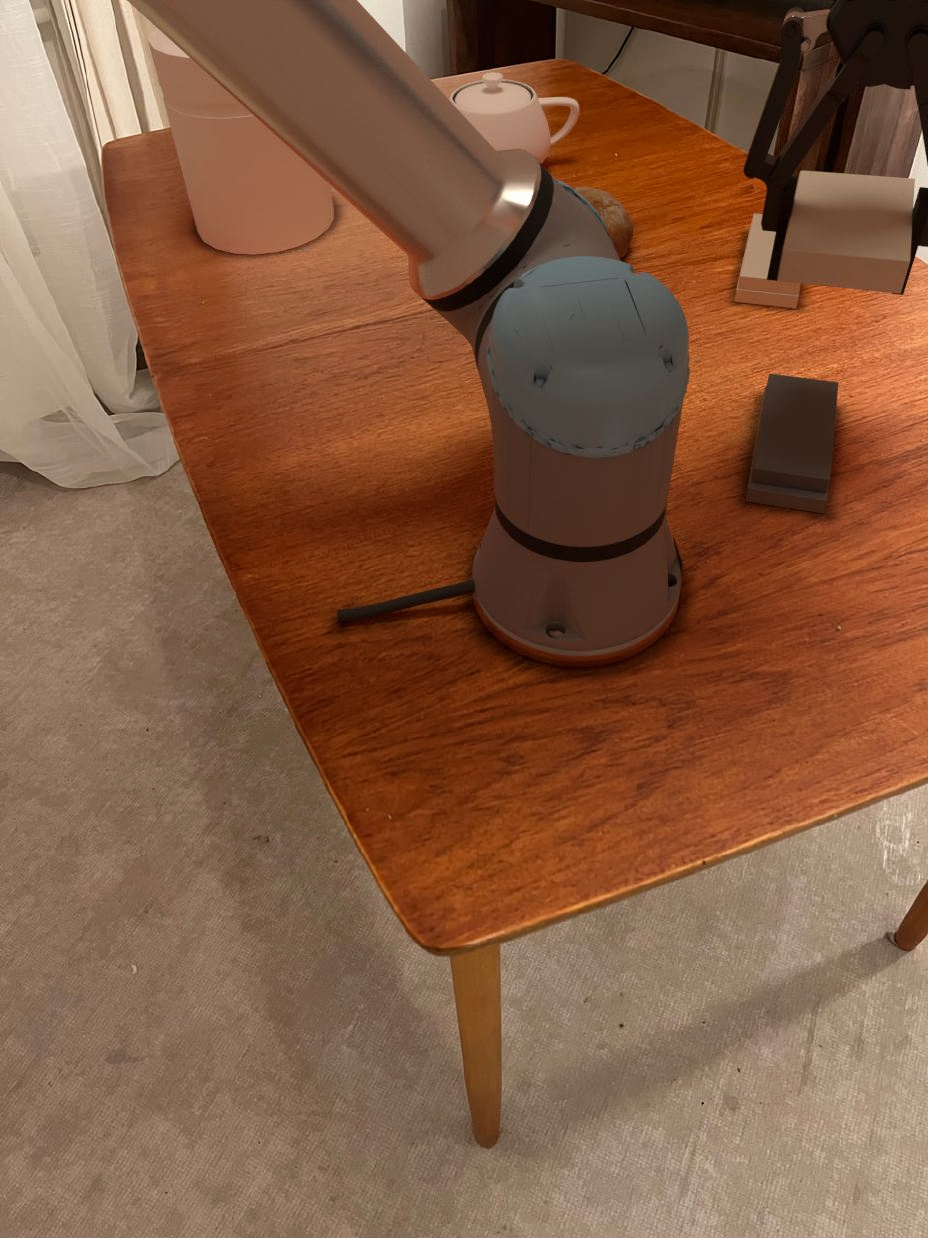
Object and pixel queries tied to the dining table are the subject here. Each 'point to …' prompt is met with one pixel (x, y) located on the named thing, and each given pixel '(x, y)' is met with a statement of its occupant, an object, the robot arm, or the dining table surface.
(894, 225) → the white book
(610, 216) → the bread roll
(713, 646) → the dining table surface
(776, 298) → the white stack
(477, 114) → the teapot
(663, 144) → the dining table surface
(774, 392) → the grey stack
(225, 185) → the canister
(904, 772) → the dining table surface
